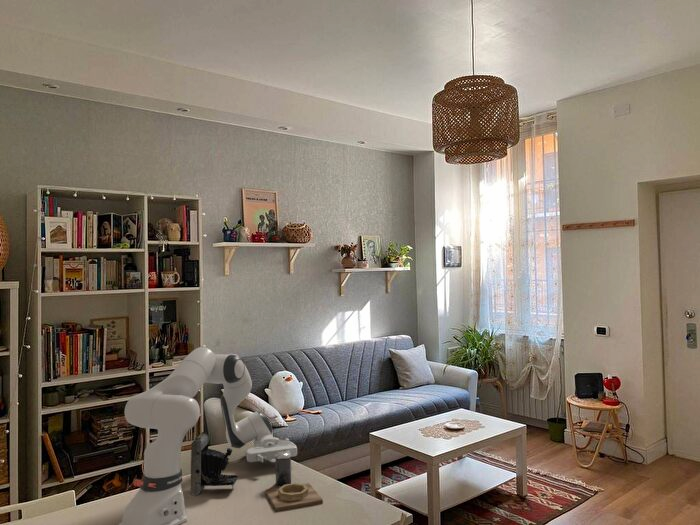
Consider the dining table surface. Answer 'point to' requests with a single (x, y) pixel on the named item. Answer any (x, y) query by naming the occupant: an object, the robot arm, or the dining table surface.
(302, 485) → the mount
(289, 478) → the canister
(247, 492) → the dining table surface
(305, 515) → the dining table surface
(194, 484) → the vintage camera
